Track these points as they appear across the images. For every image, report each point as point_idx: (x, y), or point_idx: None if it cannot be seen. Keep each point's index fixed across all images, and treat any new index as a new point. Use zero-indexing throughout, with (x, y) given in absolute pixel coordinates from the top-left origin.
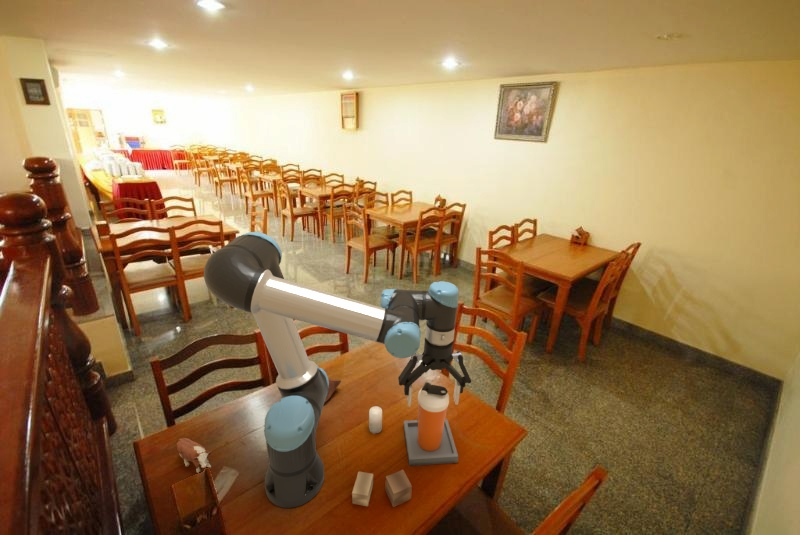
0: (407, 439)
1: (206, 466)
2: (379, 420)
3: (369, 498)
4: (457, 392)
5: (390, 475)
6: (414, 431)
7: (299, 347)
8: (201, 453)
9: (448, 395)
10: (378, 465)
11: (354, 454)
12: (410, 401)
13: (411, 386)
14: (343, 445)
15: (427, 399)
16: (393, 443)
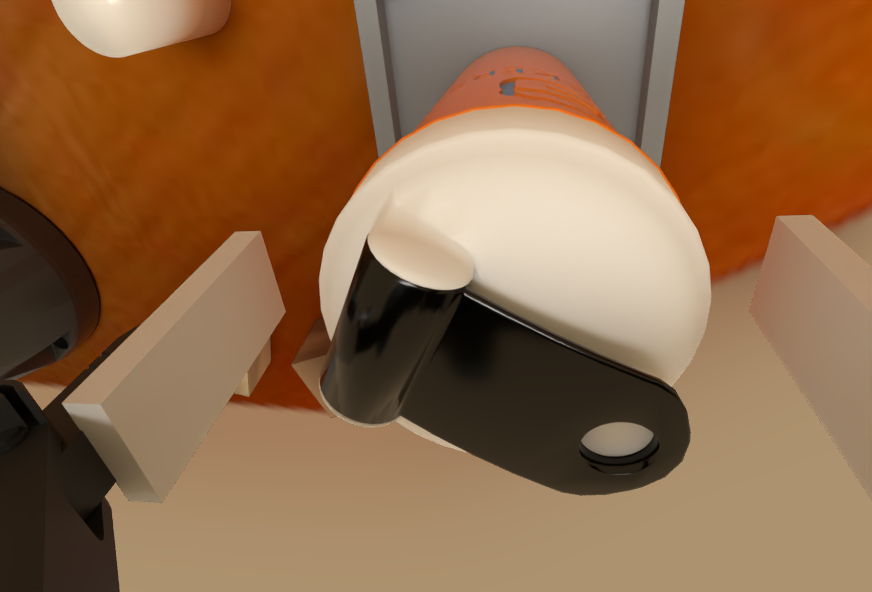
0: (380, 139)
1: None
2: (171, 38)
3: (268, 346)
4: (839, 443)
5: (308, 363)
6: (429, 40)
7: None
8: None
9: (701, 329)
10: (270, 228)
11: (151, 171)
12: (255, 347)
13: (144, 486)
14: (80, 120)
15: (411, 424)
16: (317, 109)
